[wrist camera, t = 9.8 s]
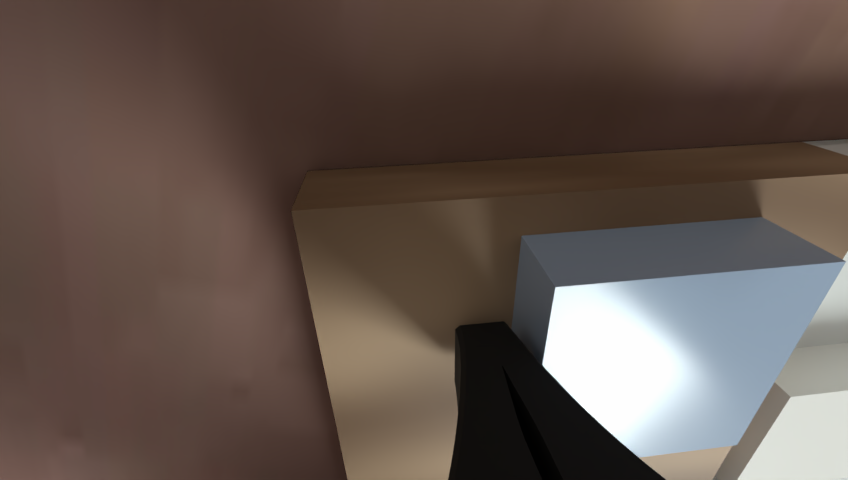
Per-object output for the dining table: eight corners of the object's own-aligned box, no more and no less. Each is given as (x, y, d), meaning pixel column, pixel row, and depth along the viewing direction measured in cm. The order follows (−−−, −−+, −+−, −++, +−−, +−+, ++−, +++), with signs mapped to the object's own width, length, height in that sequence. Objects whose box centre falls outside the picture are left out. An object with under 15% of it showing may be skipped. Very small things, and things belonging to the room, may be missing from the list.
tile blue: (687, 386, 13) (737, 445, 11) (502, 407, 12) (523, 471, 10) (762, 217, 10) (846, 261, 8) (521, 235, 9) (555, 286, 8)
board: (660, 453, 19) (695, 507, 17) (364, 490, 18) (363, 553, 16) (801, 141, 12) (895, 170, 9) (307, 170, 10) (291, 210, 8)
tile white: (814, 433, 19) (858, 476, 17) (695, 448, 18) (728, 493, 17) (884, 338, 16) (947, 378, 14) (743, 353, 15) (790, 396, 14)
